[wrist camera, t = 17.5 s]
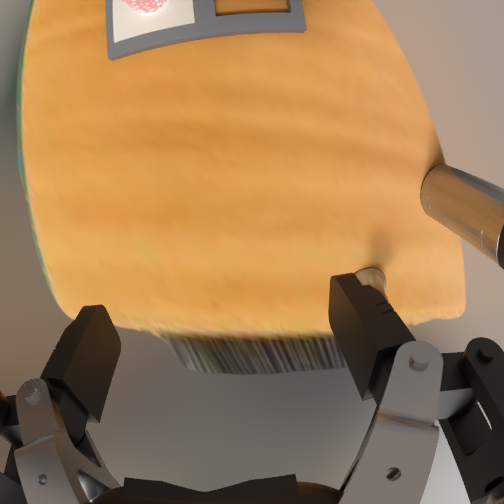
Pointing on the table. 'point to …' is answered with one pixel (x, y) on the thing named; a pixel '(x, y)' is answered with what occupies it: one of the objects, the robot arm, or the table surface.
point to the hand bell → (373, 279)
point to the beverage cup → (146, 6)
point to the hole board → (189, 25)
